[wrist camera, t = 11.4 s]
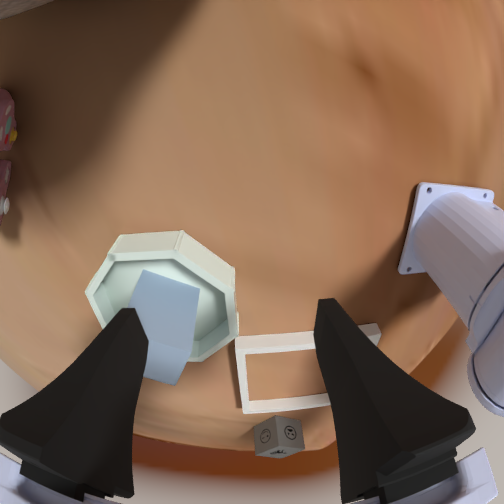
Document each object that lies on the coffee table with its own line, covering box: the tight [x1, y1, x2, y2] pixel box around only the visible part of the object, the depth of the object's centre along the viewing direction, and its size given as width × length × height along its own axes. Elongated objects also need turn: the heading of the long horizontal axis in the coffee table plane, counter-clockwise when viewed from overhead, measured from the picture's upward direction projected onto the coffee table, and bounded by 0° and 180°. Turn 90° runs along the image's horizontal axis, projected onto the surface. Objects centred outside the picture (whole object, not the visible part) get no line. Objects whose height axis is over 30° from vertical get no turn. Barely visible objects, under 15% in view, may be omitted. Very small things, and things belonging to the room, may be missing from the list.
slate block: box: [127, 269, 200, 386], centre depth 19 cm, size 4×4×6 cm
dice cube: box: [254, 415, 305, 458], centre depth 34 cm, size 5×5×5 cm
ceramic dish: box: [85, 230, 239, 362], centre depth 21 cm, size 11×11×2 cm
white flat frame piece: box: [235, 323, 381, 414], centre depth 28 cm, size 14×14×2 cm
